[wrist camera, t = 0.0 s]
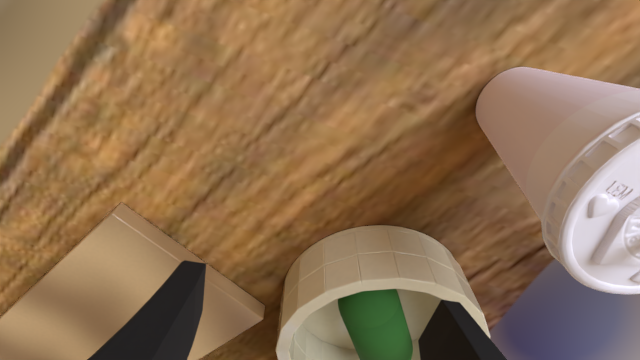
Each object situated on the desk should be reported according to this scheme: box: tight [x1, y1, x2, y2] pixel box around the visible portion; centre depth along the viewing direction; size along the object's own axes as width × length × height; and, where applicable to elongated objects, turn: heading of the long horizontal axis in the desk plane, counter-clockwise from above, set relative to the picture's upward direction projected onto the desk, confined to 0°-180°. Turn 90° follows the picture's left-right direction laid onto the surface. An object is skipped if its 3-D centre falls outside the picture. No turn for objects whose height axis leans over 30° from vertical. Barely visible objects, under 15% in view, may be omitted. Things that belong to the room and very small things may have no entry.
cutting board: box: [0, 203, 265, 360], centre depth 26 cm, size 20×12×1 cm, turn 131°
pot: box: [276, 225, 490, 360], centre depth 23 cm, size 13×13×4 cm
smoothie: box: [476, 67, 640, 294], centre depth 12 cm, size 6×6×14 cm
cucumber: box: [338, 289, 413, 360], centre depth 23 cm, size 8×4×4 cm, turn 17°
